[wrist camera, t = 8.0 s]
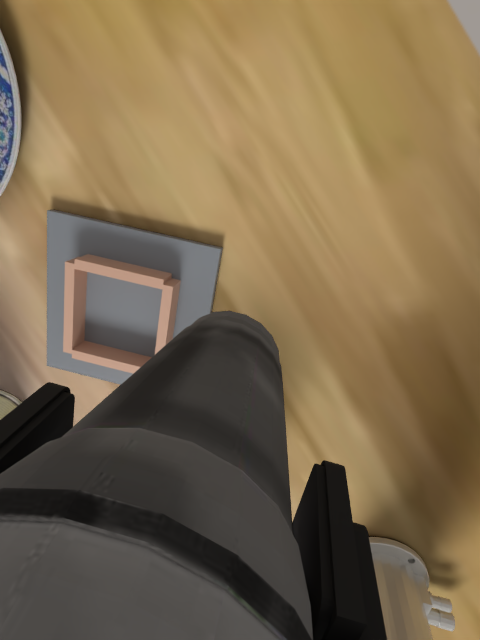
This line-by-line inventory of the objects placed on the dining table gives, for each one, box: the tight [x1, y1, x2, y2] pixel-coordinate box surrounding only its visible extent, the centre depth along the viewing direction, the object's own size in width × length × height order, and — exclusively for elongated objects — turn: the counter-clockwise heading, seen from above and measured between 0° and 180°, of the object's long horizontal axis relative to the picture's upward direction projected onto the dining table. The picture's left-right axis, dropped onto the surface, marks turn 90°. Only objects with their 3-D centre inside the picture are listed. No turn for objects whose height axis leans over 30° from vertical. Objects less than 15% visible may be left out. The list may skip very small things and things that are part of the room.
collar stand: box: [47, 210, 223, 384], centre depth 41 cm, size 18×18×4 cm
